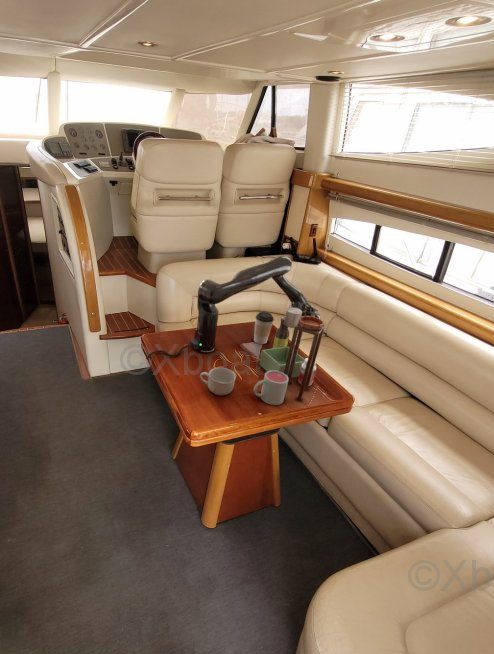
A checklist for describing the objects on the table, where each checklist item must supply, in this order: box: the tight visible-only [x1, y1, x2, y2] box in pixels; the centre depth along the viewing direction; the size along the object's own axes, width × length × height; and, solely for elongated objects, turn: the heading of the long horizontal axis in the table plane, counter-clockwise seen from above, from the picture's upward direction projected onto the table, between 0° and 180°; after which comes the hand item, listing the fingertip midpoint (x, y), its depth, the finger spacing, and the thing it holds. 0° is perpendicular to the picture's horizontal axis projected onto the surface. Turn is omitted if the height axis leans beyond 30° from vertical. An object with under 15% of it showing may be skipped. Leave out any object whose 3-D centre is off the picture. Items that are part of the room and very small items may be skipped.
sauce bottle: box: [272, 316, 290, 349], centre depth 180 cm, size 6×6×20 cm
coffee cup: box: [253, 311, 275, 345], centre depth 195 cm, size 9×9×15 cm
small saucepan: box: [284, 303, 303, 329], centre depth 165 cm, size 17×6×6 cm, turn 150°
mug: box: [253, 371, 289, 406], centre depth 151 cm, size 14×9×10 cm
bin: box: [258, 345, 306, 379], centre depth 172 cm, size 14×14×8 cm
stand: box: [284, 316, 327, 401], centre depth 152 cm, size 10×9×32 cm
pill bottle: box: [297, 357, 317, 387], centre depth 163 cm, size 6×6×11 cm
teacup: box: [199, 366, 237, 396], centre depth 153 cm, size 14×11×8 cm
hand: (300, 304), depth 167 cm, fingers closed on small saucepan
